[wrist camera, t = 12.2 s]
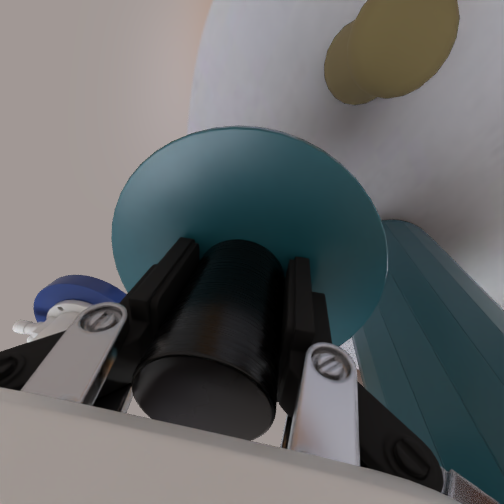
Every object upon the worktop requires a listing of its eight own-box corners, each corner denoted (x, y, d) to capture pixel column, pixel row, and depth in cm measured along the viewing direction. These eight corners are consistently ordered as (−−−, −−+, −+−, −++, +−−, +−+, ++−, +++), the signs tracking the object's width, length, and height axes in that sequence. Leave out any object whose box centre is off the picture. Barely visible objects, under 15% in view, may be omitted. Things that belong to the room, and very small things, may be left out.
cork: (390, 104, 23) (455, 107, 14) (319, 105, 24) (335, 107, 15) (410, 14, 20) (510, -62, 11) (329, 18, 21) (356, -51, 12)
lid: (139, 328, 16) (46, 462, 10) (108, 104, 10) (-165, 110, 4) (338, 366, 15) (364, 538, 9) (429, 148, 9) (669, 232, 3)
